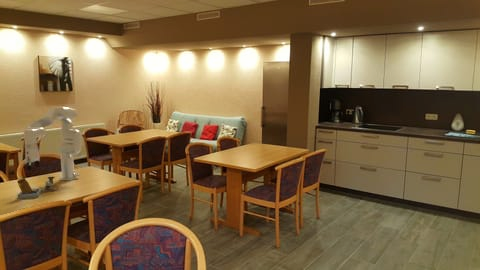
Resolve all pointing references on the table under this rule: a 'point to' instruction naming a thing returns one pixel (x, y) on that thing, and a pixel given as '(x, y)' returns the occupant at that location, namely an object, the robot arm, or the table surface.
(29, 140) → the robot arm
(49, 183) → the crank
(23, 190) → the condiment
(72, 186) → the table surface
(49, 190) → the crank base
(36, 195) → the tray
